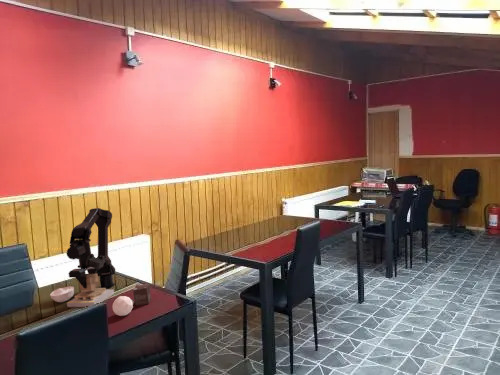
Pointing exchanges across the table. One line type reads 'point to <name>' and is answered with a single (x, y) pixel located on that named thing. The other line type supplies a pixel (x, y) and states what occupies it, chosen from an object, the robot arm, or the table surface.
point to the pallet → (90, 294)
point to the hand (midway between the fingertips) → (89, 285)
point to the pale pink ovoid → (123, 305)
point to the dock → (90, 302)
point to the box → (142, 294)
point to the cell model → (62, 294)
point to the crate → (90, 282)
